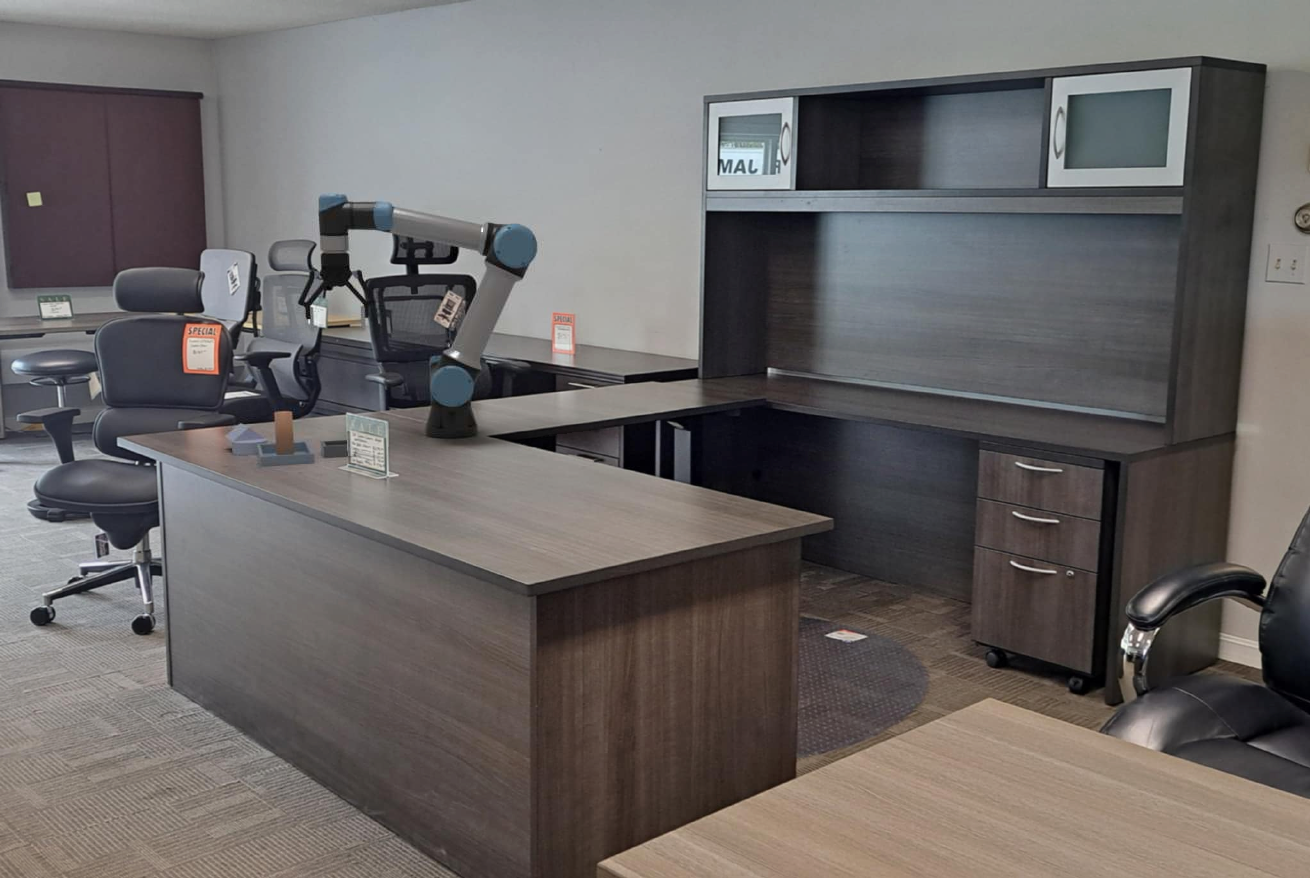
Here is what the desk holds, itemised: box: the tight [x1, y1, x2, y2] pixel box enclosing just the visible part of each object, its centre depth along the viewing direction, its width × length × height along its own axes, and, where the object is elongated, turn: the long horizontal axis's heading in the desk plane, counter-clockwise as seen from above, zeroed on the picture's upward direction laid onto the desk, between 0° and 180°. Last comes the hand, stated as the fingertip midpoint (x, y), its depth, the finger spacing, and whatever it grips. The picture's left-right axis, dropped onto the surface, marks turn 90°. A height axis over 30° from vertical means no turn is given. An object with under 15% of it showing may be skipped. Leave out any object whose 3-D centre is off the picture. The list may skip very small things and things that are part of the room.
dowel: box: [273, 410, 295, 455], centre depth 316 cm, size 4×4×12 cm
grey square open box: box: [320, 439, 348, 459], centre depth 323 cm, size 8×8×4 cm
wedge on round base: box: [224, 423, 268, 456], centre depth 330 cm, size 9×7×13 cm
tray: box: [256, 441, 315, 468], centre depth 317 cm, size 13×18×3 cm
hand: (338, 331), depth 333 cm, fingers open, 13 cm apart
